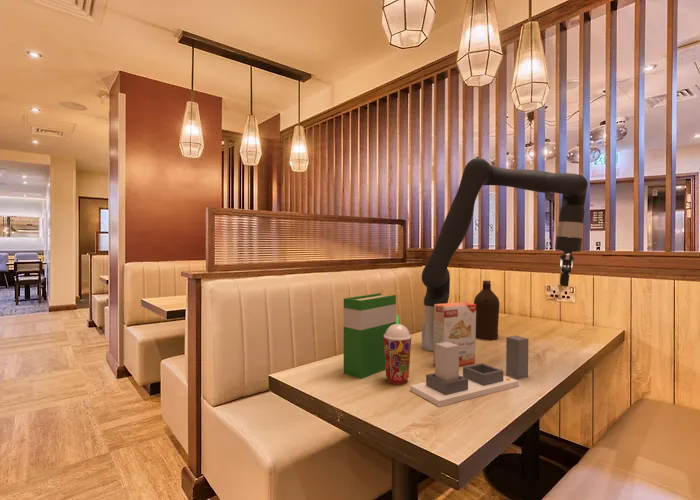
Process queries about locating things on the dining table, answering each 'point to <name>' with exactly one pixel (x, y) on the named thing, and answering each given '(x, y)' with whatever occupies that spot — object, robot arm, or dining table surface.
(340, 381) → the dining table surface
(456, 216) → the robot arm
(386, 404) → the dining table surface
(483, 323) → the olive oil
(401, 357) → the smoothie
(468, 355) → the cracker box
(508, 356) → the charcoal plug
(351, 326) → the hardback book
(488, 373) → the white board with sockets
